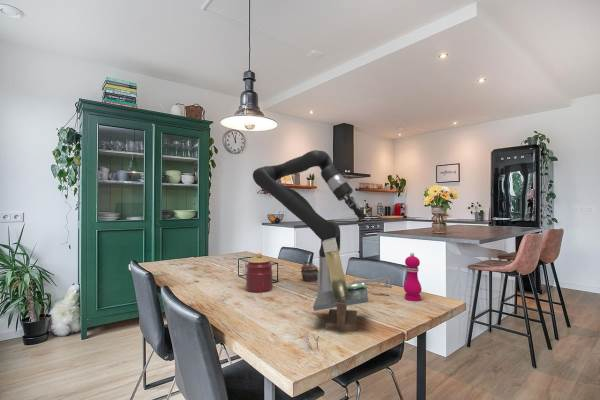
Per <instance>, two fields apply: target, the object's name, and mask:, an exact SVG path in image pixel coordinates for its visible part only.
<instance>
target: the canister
mask: <svg viewBox="0 0 600 400" xmlns="http://www.w3.org/2000/svg"><path fill="white" fill-rule="evenodd" d="M271 261H272V259H270V257H268V256H263V254H262V253H261V252H258V253H257V254H256V256H252V257H250V258H249V259H248V260H247V264H246V265H245V267H246V271H245V274H246V275H245V276H246V280H245V282H246V284H245V289H246V291H248V292H250V293H265V292H270V291H271V290H273V286H274V285H273V271H274V270H273V269H272V268H273V263H271Z"/></svg>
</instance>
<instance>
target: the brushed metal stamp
mask: <svg viewBox="0 0 600 400" xmlns="http://www.w3.org/2000/svg"><path fill="white" fill-rule="evenodd" d="M322 244H323V249H324V253H325V257H326V262H327V266H328V271H329V276H330V280H331V285H332V289H333V291H327V292H321V293H317V296H316V298H315V301H314V303H313V305H312V308H313V312H317V311H322V310H327V309H329V310H330V309H335V308H337V302H339V303H344V306H347V307H348V306H354V305H359V304H367V303H369V295H368V287H367V284H366V283H358V284H357V283H352V284H347V283H346V277H345V274H344V269H343V264H342V260H341V254H340V251H339V250H338V248H337V243H336V238H331V239H326V240H324V241H323V242H322Z"/></svg>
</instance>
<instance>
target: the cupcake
mask: <svg viewBox="0 0 600 400" xmlns="http://www.w3.org/2000/svg"><path fill="white" fill-rule="evenodd" d="M300 269H301V270H300V271H301V272H300V273H301V276H302V281H304V282H307V283H314V282H318V272H319V270H318V266H317V265H315V263H313V262H312V261H309V262H307V261H304V262H303V264H302V266H301V267H300Z"/></svg>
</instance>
